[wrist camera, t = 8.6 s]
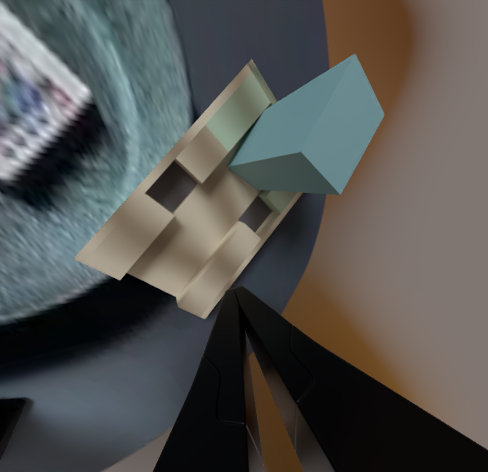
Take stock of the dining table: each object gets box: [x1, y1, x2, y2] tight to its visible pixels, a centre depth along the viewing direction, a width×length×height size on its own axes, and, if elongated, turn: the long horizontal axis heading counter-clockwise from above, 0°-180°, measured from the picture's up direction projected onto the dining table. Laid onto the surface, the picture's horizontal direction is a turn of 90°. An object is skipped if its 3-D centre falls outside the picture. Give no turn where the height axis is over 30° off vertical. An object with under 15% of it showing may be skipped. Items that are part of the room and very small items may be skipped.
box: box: [74, 59, 302, 319], centre depth 18 cm, size 20×12×2 cm, turn 136°
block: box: [227, 54, 384, 195], centre depth 14 cm, size 6×4×10 cm
